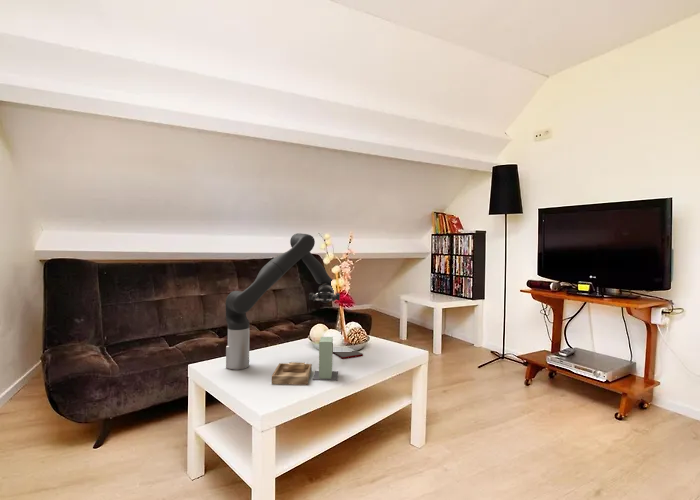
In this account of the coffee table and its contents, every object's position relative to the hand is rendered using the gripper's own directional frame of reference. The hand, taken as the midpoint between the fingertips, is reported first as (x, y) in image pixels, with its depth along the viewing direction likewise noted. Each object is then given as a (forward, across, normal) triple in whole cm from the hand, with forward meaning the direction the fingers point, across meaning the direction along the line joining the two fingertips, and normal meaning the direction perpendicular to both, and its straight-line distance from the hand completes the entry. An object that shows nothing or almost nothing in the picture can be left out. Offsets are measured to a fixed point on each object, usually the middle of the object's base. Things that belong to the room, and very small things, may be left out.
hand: (323, 298), depth 172 cm
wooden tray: (+16, -11, +30) cm, 36 cm away
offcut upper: (+12, -10, +27) cm, 31 cm away
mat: (+14, +2, +30) cm, 33 cm away
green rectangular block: (+14, +2, +30) cm, 33 cm away
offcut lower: (+12, -11, +29) cm, 33 cm away
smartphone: (-22, +8, +31) cm, 39 cm away
